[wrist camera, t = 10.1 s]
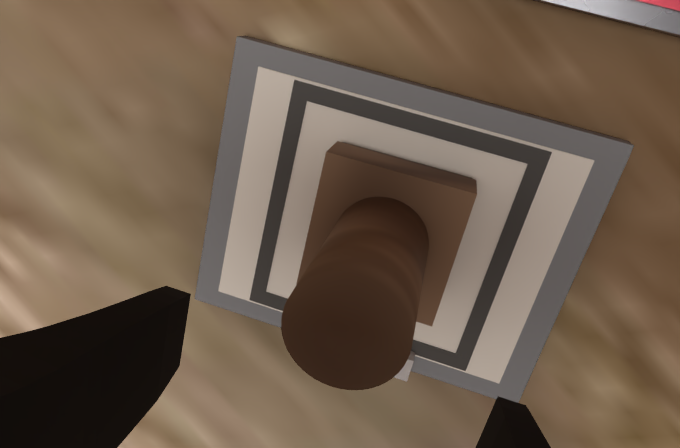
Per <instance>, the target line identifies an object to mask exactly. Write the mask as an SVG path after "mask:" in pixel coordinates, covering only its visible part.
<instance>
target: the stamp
mask: <svg viewBox="0 0 680 448" xmlns="http://www.w3.org/2000/svg"><path fill="white" fill-rule="evenodd" d="M476 196H477V183H476V180H475V179H472V178H471V177H467V176H464V175H460V174H456V173H453V172H449V171H446V170H442V169H438V168H435V167H431V166H428V165H424V164H421V163H417V162H413V161H410V160H406V159H403V158H399V157H396V156H392V155H388V154H385V153H381V152H378V151H374V150H370V149H367V148H363V147H360V146H356V145H353V144H349V143H345V142H339V141H337V142H336V143H335V144H334V145H333V146H332V147H331V148H330V149H328V150H327V151H326V154H325V159H324V163H323V168H322V172H321V176H320V181H319V185H318V190H317V194H316V199H315V203H314V208H313V212H312V217H311V221H310V225H309V230H308V234H307V239H306V243H305V248H304V252H303V257H302V261H301V265H300V270H299V274H298V279H297V283H296V284H297V285H296V287H295V288H294V290H293V291H292V293H291V295H290V296H289V298H288V299H287V301H286V303H285V306H284V309H283V312H282V318H281V330H282V336H283V339H284V343H285V345H286V348H287V350H288V352H289V353H290V355H291V357H292V358H293V359H294V361H295V362H296V363H297V364H298V365H299V366H300V367H301V369H302V370H304V371H305V372H306V373H307V374H308V375H310V376H311V377H313V378H314V379H316V380H318V381H320V382H322V383H324V384H327V385H329V386H332V387H336V388H340V389H346V390H364V389H369V388H373V387H376V386H379V385H381V384H383V383H386V382H387V381H389V380H390V379H392V378H393V377H394V376H395V375H397V374H398V373H399V372H400V370H401V369H402V368H403V367H404V365H405V363H406V362H407V360H408V358H409V355H410V352H411V348H412V343H413V337H414V331H415V326H416V322H419V323H422V324H425V325H428V326H432V325H433V322H434V319H435V316H436V314H437V311H438V308H439V305H440V302H441V299H442V296H443V293H444V290H445V287H446V284H447V281H448V278H449V275H450V272H451V269H452V267H453V264H454V261H455V258H456V255H457V252H458V249H459V246H460V243H461V240H462V237H463V234H464V231H465V228H466V225H467V222H468V220H469V217H470V214H471V211H472V208H473V205H474V202H475V199H476Z"/></svg>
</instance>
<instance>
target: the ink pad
mask: <svg viewBox="0 0 680 448" xmlns="http://www.w3.org/2000/svg"><path fill="white" fill-rule="evenodd" d="M534 1H538V2H542V3H546V4H550V5H554V6H558V7H562V8H566V9H569V10H573V11H577V12H581V13H585V14H589V15H593V16H597V17H601V18H605V19H609V20H613V21H617V22H621V23H625V24H629V25H633V26H637V27H641V28H645V29H649V30H653V31H657V32H661V33H665V34H669V35H672V36H676V37H680V0H534Z"/></svg>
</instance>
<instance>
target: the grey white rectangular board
mask: <svg viewBox="0 0 680 448" xmlns="http://www.w3.org/2000/svg"><path fill="white" fill-rule="evenodd" d="M337 141H339V142H345V143H349V144H353V145H356V146H360V147H363V148H367V149H370V150H374V151H378V152H381V153H385V154H388V155H392V156H396V157H399V158H403V159H406V160H410V161H413V162H417V163H421V164H424V165H428V166H431V167H435V168H438V169H442V170H446V171H449V172H453V173H456V174H460V175H464V176H467V177H471V178H472V179H475V180H476V183H477V196H476V199H475V202H474V205H473V208H472V211H471V214H470V217H469V220H468V222H467V225H466V228H465V231H464V234H463V237H462V240H461V243H460V246H459V249H458V252H457V255H456V258H455V261H454V264H453V267H452V269H451V272H450V275H449V278H448V281H447V284H446V287H445V290H444V293H443V296H442V299H441V302H440V305H439V308H438V311H437V314H436V316H435V319H434V322H433V325H432V326H428V325H425V324H422V323H419V322H416V326H415V331H414V337H413V343H412V348H411V352H410V355H409V358H408V360H407V362H406V363H405V365H404V367H403V368H402V369H401V370H400V372H399V373H398V374H397V375H395V376H394V378H397V379H400V380H403V381H406V382H407V379H408V376H409V374H410V371H413V372H416V373H419V374H422V375H425V376H428V377H431V378H434V379H437V380H440V381H443V382H446V383H449V384H452V385H455V386H458V387H461V388H464V389H467V390H470V391H473V392H476V393H479V394H482V395H485V396H488V397H491V398H494V399H497V397H498V396H499V397H502V398H505V399H508V400H511V401H514V402H517V403H518V402H519V400H520V398H521V396H522V393H523V391H524V389H525V387H526V385H527V382H528V380H529V378H530V376H531V373H532V371H533V369H534V367H535V365H536V362H537V360H538V358H539V356H540V354H541V351H542V349H543V347H544V345H545V342H546V340H547V338H548V336H549V334H550V331H551V329H552V327H553V325H554V322H555V320H556V318H557V316H558V314H559V311H560V309H561V307H562V305H563V302H564V300H565V298H566V296H567V294H568V291H569V289H570V287H571V285H572V283H573V280H574V278H575V276H576V274H577V271H578V269H579V267H580V265H581V263H582V260H583V258H584V256H585V254H586V251H587V249H588V247H589V245H590V243H591V240H592V238H593V236H594V234H595V232H596V229H597V227H598V225H599V223H600V220H601V218H602V216H603V214H604V212H605V209H606V207H607V205H608V203H609V200H610V198H611V196H612V194H613V192H614V189H615V187H616V185H617V183H618V180H619V178H620V176H621V174H622V172H623V169H624V167H625V165H626V163H627V161H628V158H629V156H630V154H631V152H632V149H633V147H634V145H633V144H631V143H630V142H629V141H626V140H623V139H619V138H615V137H612V136H608V135H605V134H601V133H597V132H594V131H590V130H586V129H583V128H579V127H575V126H572V125H568V124H565V123H561V122H557V121H554V120H550V119H546V118H543V117H539V116H535V115H532V114H528V113H524V112H521V111H517V110H514V109H510V108H506V107H503V106H499V105H495V104H492V103H488V102H484V101H481V100H477V99H474V98H470V97H466V96H463V95H459V94H455V93H452V92H448V91H444V90H441V89H437V88H433V87H430V86H426V85H423V84H419V83H415V82H412V81H408V80H404V79H401V78H397V77H393V76H390V75H386V74H383V73H379V72H375V71H372V70H368V69H364V68H361V67H357V66H353V65H350V64H346V63H342V62H339V61H335V60H332V59H328V58H324V57H321V56H317V55H313V54H310V53H306V52H302V51H299V50H295V49H292V48H288V47H284V46H281V45H277V44H273V43H270V42H266V41H262V40H259V39H255V38H251V37H248V36H237V39H236V45H235V52H234V58H233V64H232V70H231V76H230V83H229V89H228V95H227V101H226V108H225V114H224V120H223V126H222V132H221V139H220V145H219V151H218V157H217V164H216V170H215V176H214V182H213V188H212V195H211V201H210V207H209V213H208V219H207V226H206V232H205V238H204V244H203V251H202V257H201V263H200V269H199V275H198V282H197V288H196V294H195V299H196V300H199V301H202V302H205V303H208V304H211V305H214V306H217V307H220V308H223V309H226V310H229V311H232V312H235V313H238V314H241V315H244V316H247V317H250V318H253V319H256V320H259V321H262V322H265V323H268V324H271V325H274V326H277V327H280V328H281V318H282V312H283V309H284V306H285V303H286V301H287V299H288V298H289V296H290V295H291V293H292V291H293V290H294V288H295V287H296V285H297V284H296V283H297V279H298V274H299V270H300V265H301V261H302V257H303V252H304V248H305V243H306V239H307V234H308V230H309V225H310V221H311V217H312V212H313V208H314V203H315V199H316V194H317V190H318V185H319V181H320V176H321V172H322V168H323V163H324V159H325V154H326V151H327V150H328V149H330V148H331V147H332V146H333V145H334V144H335V143H336V142H337Z"/></svg>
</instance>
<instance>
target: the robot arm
mask: <svg viewBox="0 0 680 448" xmlns="http://www.w3.org/2000/svg"><path fill="white" fill-rule="evenodd" d="M190 295H191V294H189V293H186V292H183V291H180V290H177V289H174V288H171V287H168V286H165V287H161V288H158V289H155V290H152V291H149V292H147V293H144V294H141V295H138V296H136V297H133V298H130V299H128V300H125V301H122V302H120V303H117V304H114V305H111V306H108V307H106V308H103V309H100V310H97V311H94V312H92V313H89V314H86V315H82V316H79V317H76V318H73V319H69V320H66V321H63V322H60V323H57V324H53V325H50V326H47V327H43V328H40V329H36V330H32V331H28V332H24V333H20V334H16V335H11V336H7V337H2V338H0V448H117V447H118V446H119V445H120V444H121V443H122V441H123V440H124V439H125V438H126V437H127V436H128V434H129V433H130V432H131V431H132V430H133V429H134V427H135V426H136V425H137V424H138V423H139V421H140V420H141V419H142V418H143V417H144V416H145V414H146V413H147V412H148V411H149V410H150V408H151V407H152V406H153V405H154V404H155V402H156V401H157V400H158V398H159V397H160V395H161V394H162V392H163V391H164V389H165V388H166V386H167V385H168V383H169V382H170V380H171V378H172V377H173V375H174V374H175V372H176V370H177V369H178V367H179V365H180V359H181V352H182V346H183V340H184V333H185V327H186V320H187V314H188V308H189V301H190ZM476 448H551V447H550V446H549V444H548V442H547V440H546V439H545V437H544V435H543V434H542V432H541V430H540V428H539V427H538V425H537V423H536V422H535V420H534V418H533V416H532V415H531V413H530V411H529V410H528V408H527V407H526V405H523V404H520V403H517V402H514V401H511V400H508V399H505V398H502V397H499V396H498V397H497V399H496V402H495V404H494V406H493V409H492V411H491V413H490V416H489V418H488V420H487V423H486V425H485V427H484V430H483V432H482V434H481V437H480V439H479V441H478V444H477V446H476Z"/></svg>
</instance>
